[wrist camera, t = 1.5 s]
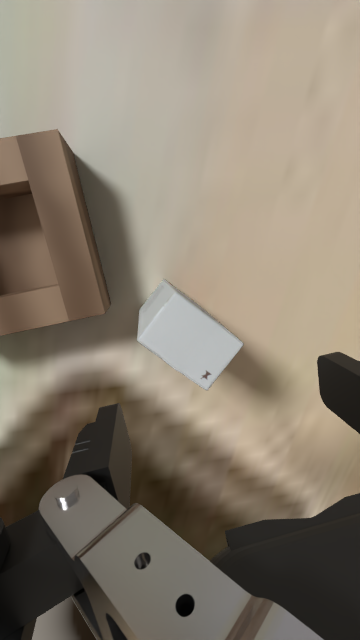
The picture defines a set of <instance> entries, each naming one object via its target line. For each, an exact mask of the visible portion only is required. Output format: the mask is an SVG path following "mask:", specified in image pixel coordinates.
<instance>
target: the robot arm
mask: <svg viewBox="0 0 360 640" xmlns="http://www.w3.org/2000/svg"><path fill="white" fill-rule="evenodd" d="M317 365H318V377H319V388H320V395H321V398H322V400H323V402H324V404H325V405H326V407H327V408H329V409H330V410H331V411H332V412H334V413H335V414H336V415H337V416H338V417H340V418H341V419H342V420H343V421H345V422H346V423H347V424H348V425H349V426H351V427H352V428H353V429H354V430H356V431H357V432H358V433H359V434H360V361H357V360H355V359H353V358H351V357H349V356H347V355H345V354H343V353H341V352H335V353H330V354H326V355H322V356H319V357H318V360H317ZM72 452H73V453H72V454H71V457H70V460H69V463H68V466H67V469H66V472H65V474H64V477H63V480H61V481H59V482H58V483H56V484H55V485H54V486H52V487H51V488H50V489H49V490H48V491H47V492H46V493H45V495H44V496H43V498H42V499H41V502H40V504H39V510H38V511H36V512H35V513H33V514H31V515H29V516H27V517H25V518H23V519H21V520H19V521H17V522H15V523H13V524H11V525H9V526H7V527H5V525H4V522H3V520H2V518H0V640H32V636H33V631H34V627H35V623H36V619H37V617H38V616H40V615H42V614H43V613H45V612H46V611H48V610H49V609H51V608H53V607H54V606H55V605H57V604H59V603H60V602H62V601H64V600H65V599H66V598H68V597H70V596H71V597H72V599H73V601H74V602H75V604H76V606H77V607H78V609H79V611H80V612H81V614H82V616H83V617H84V619H85V621H86V622H87V624H88V626H89V627H90V629H91V631H92V632H93V634H94V636H95V637H96V639H97V640H360V493H359V494H355V495H351V496H348V497H345V498H343V499H342V500H340V501H338V502H337V503H335V504H334V505H332V506H330V507H329V508H327V509H326V510H324V511H323V512H321V513H319V514H318V515H316V516H314V517H312V518H303V519H274V520H262V521H259V522H255V523H252V524H248V525H245V526H241V527H238V528H234V529H230V530H227V531H225V534H226V539H227V544H228V547H227V548H225V549H224V550H222V551H221V552H219V553H218V554H217V555H216V556H215V557H213V558H212V559H211V560H210V561H208V560H207V559H206V558H205V557H204V556H202V555H201V554H200V553H199V552H197V551H196V550H195V549H194V548H193V547H191V546H190V545H189V544H188V543H186V542H185V541H184V540H183V539H182V538H180V537H179V536H178V535H177V534H175V533H174V532H173V531H172V530H171V529H169V528H168V527H167V526H166V525H164V524H163V523H162V522H161V521H160V520H158V519H157V518H156V517H155V516H154V515H152V514H151V513H150V512H149V511H147V510H146V509H145V508H144V507H142V506H141V505H140V504H137V503H134V504H133V505H132V506H131V507H130V484H131V462H132V451H131V444H130V439H129V435H128V431H127V427H126V424H125V420H124V416H123V412H122V409H121V406H120V404H119V403H117V404H113V405H109V406H105V407H100V408H99V411H98V414H97V418H96V422H94V423H90V424H87V425H86V426H85V427H84V428H83V429H82V431H81V432H80V433H79V434H78V437H77V440H76V443H75V446H74V449H73V451H72Z"/></svg>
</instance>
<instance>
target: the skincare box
mask: <svg viewBox="0 0 360 640" xmlns="http://www.w3.org/2000/svg"><path fill="white" fill-rule="evenodd" d="M137 341H138V342H139V343H140V344H141V345H143V346H144V347H146V348H147V349H149V350H150V351H151V352H153V353H154V354H155V355H157V356H158V357H160V358H161V359H162V360H164V361H165V362H166V363H167V364H168V365H170V366H171V367H172V368H174V369H175V370H177V371H179V372H180V373H182V374H183V375H184V376H186V377H187V378H189V379H190V380H192V381H193V382H194V383H196V384H197V385H199V386H200V387H202V388H203V389H205V390H208V389H209V388H210V387H211V385H212V384H213V383H214V382H215V380H216V379H217V378H218V376H219V375H220V374H221V373H222V371H223V370H224V369H225V367H226V366H227V365H228V364H229V362H230V361H231V360H232V359H233V358H234V356H235V355H236V354H237V353H238V351H239V350H240V349H241V347H242V346H243V345H244V344H243V342H242V341H240V340H239V339H238V338H237V337H236V336H235V335H233V334H232V333H231V332H230V331H229V330H228V329H226V328H225V327H224V326H223V325H222V324H221V323H219V322H218V321H217V320H216V319H215V318H214V317H212V316H211V315H210V314H209V313H208V312H206V311H205V310H204V309H203V308H201V307H200V306H199V305H198V304H197V303H195V302H194V301H193V300H191V299H190V298H189V297H187V296H186V295H185V294H184V293H182V292H181V291H179V290H178V289H177V288H176V287H174V286H173V285H172V284H170V283H169V282H168V281H166V280H165V279H163V280H162V282H161V283H160V284H159V285H158V287H157V288H156V289H155V291H154V292H153V293H152V294H151V296H150V297H149V298H148V299H147V300H146V302H145V303H144V304H143V306H142V307H141V308H140V310H139V323H138V335H137Z"/></svg>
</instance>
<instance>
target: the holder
mask: <svg viewBox="0 0 360 640" xmlns="http://www.w3.org/2000/svg"><path fill="white" fill-rule="evenodd" d="M110 305H111V302H110V298H109V294H108V290H107V286H106V282H105V278H104V274H103V270H102V266H101V262H100V258H99V254H98V250H97V246H96V242H95V238H94V234H93V230H92V226H91V222H90V218H89V214H88V210H87V206H86V202H85V198H84V194H83V190H82V186H81V182H80V178H79V174H78V170H77V166H76V162H75V158H74V154H73V152H72V150H71V149H70V147H69V146H68V144H67V143H66V141H65V140H64V138H63V137H62V135H61V134H60V132H59V131H58V129H56V130H50V131H43V132H37V133H31V134H25V135H18V136H12V137H6V138H0V336H1V335H6V334H11V333H15V332H20V331H25V330H30V329H34V328H39V327H44V326H49V325H53V324H58V323H63V322H68V321H72V320H77V319H82V318H86V317H91V316H96V315H101V314H105V313H106V311H107V310H108V308H109V307H110Z"/></svg>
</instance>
